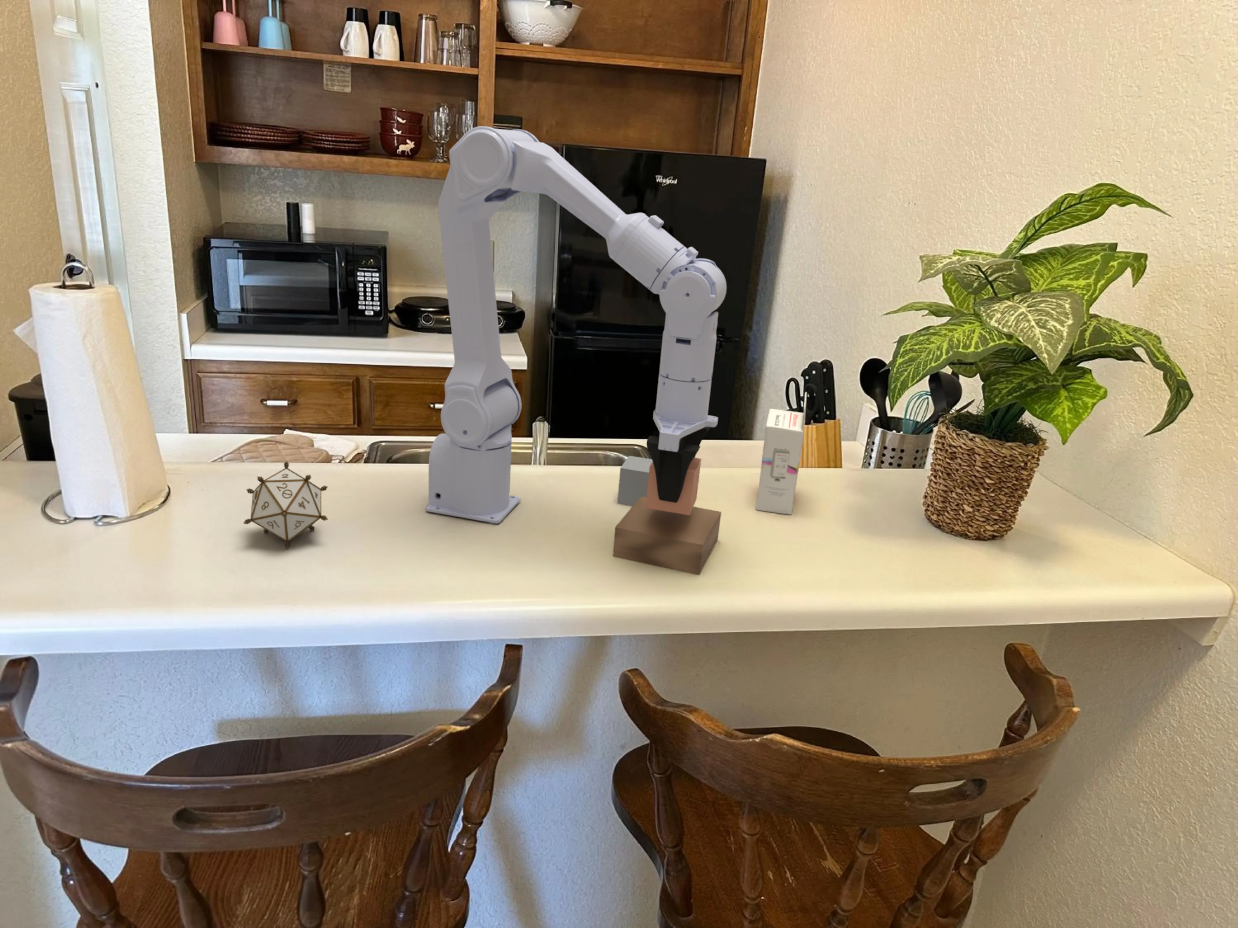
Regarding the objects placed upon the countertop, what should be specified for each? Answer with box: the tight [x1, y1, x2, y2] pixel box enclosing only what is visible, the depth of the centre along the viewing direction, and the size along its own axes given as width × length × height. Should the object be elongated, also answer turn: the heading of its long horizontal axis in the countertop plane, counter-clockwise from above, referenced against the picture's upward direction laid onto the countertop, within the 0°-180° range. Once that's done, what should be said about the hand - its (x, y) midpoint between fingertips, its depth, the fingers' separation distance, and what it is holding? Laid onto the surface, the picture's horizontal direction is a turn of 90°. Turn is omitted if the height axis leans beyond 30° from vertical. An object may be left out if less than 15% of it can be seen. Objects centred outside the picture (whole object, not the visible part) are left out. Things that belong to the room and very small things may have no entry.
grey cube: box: [617, 455, 653, 507], centre depth 114 cm, size 5×5×5 cm
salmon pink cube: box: [646, 457, 702, 515], centre depth 99 cm, size 5×5×5 cm
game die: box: [242, 460, 329, 550], centre depth 95 cm, size 9×8×10 cm
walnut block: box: [612, 497, 722, 576], centre depth 101 cm, size 10×10×4 cm
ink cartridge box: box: [755, 391, 808, 516], centre depth 115 cm, size 9×5×15 cm, turn 168°
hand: (673, 491), depth 99 cm, fingers closed on salmon pink cube, 5 cm apart
